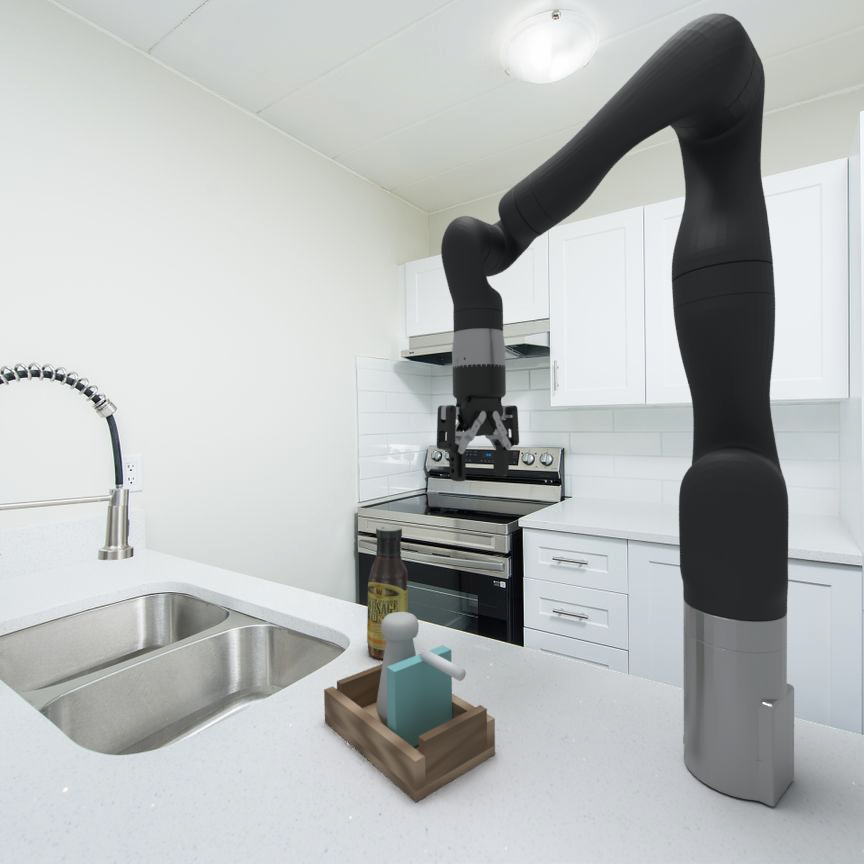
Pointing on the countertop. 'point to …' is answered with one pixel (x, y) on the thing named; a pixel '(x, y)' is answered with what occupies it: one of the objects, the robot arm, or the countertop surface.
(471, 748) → the wooden tray
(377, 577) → the sauce bottle
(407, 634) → the salt shaker
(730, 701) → the robot arm
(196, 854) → the countertop surface
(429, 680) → the pusher paddle
